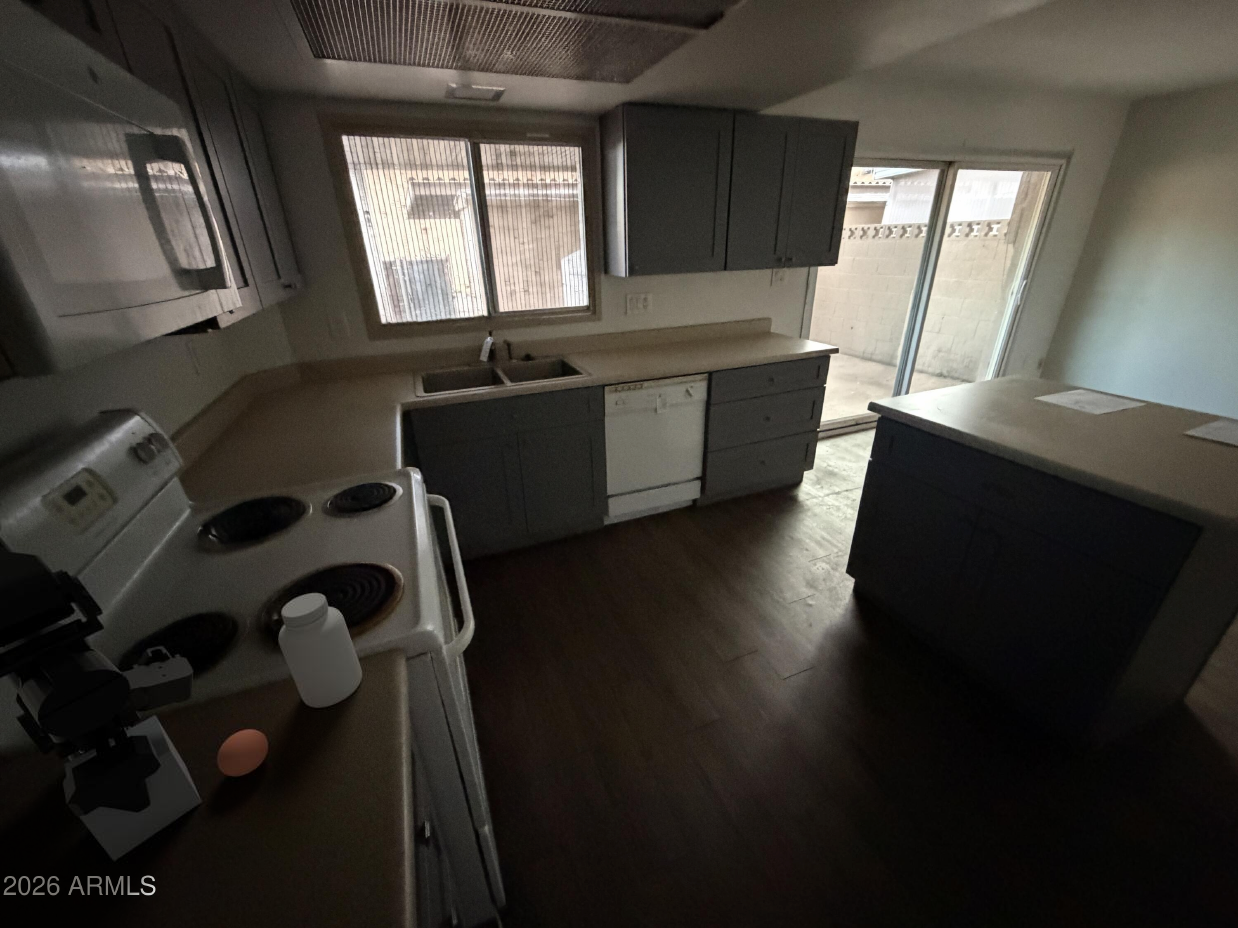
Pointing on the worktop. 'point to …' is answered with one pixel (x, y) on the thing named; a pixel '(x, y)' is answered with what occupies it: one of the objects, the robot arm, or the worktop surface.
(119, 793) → the robot arm
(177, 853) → the worktop surface
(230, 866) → the worktop surface
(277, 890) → the worktop surface
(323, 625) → the pill bottle
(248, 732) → the ball
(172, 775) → the grey cube
